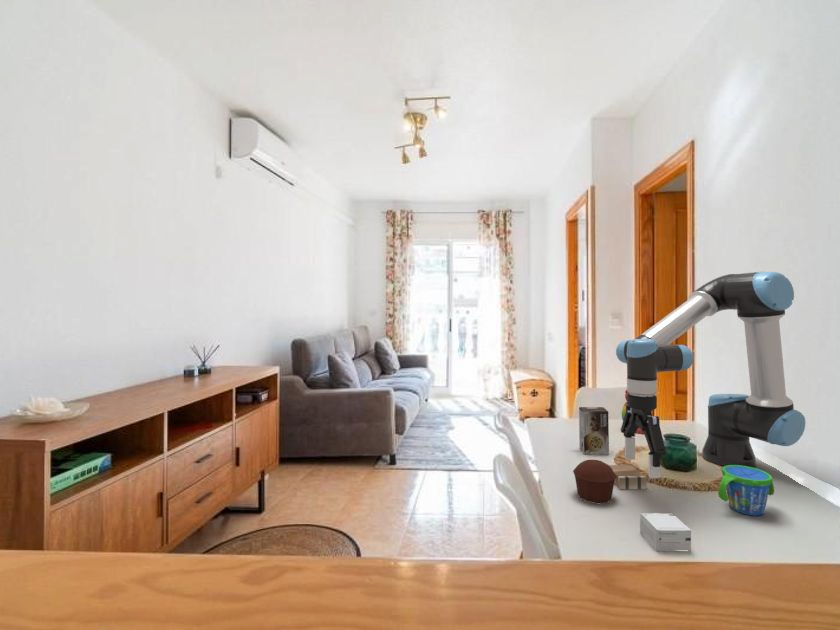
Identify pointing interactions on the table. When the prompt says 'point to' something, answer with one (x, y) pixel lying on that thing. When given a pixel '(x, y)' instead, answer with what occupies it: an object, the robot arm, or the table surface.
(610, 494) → the muffin
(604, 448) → the coffee box
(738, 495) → the snack cup
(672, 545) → the small box
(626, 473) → the brown thick block
